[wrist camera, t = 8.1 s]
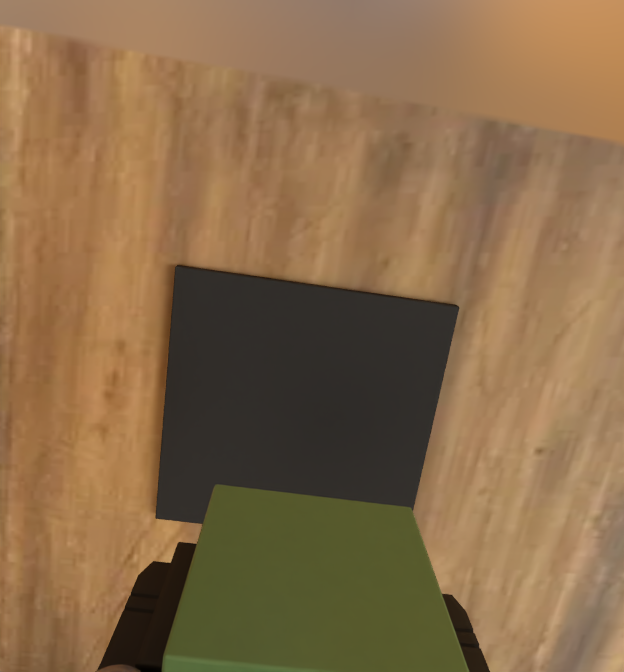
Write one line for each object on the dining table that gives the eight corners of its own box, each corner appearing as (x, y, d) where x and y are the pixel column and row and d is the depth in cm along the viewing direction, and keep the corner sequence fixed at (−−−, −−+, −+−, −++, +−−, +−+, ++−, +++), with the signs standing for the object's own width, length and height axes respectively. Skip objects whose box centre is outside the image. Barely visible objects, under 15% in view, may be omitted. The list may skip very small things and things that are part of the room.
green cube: (214, 483, 13) (162, 657, 8) (412, 506, 13) (476, 688, 8) (196, 644, 14) (142, 878, 9) (376, 662, 14) (415, 898, 10)
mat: (177, 264, 21) (175, 266, 21) (456, 304, 22) (459, 306, 22) (157, 513, 25) (155, 518, 24) (403, 541, 25) (404, 547, 25)
